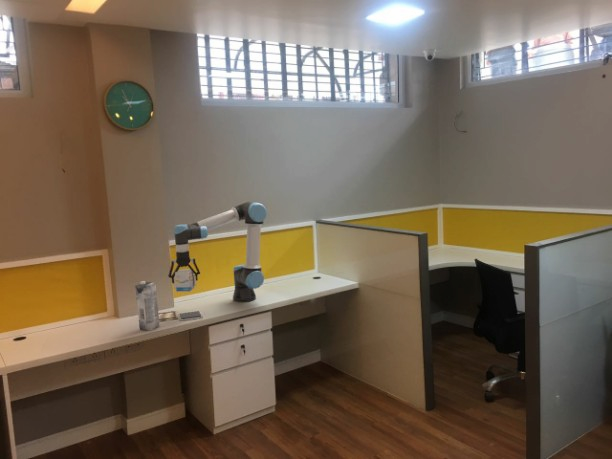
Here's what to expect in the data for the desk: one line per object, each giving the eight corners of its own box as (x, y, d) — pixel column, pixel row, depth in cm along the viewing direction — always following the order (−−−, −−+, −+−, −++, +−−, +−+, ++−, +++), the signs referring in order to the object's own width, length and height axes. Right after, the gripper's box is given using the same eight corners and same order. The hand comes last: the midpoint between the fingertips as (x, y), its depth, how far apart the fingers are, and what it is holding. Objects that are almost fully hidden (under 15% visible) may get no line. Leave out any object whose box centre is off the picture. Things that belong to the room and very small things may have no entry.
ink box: (189, 291, 313) (188, 272, 311) (176, 291, 314) (174, 272, 313) (195, 287, 321) (193, 268, 320) (181, 288, 323) (180, 269, 321)
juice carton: (162, 325, 305) (157, 279, 301) (149, 331, 296) (145, 284, 292) (149, 324, 309) (145, 278, 305) (137, 330, 299) (132, 283, 296)
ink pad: (200, 312, 328) (199, 310, 328) (202, 317, 316) (202, 315, 316) (178, 315, 324) (178, 313, 323) (180, 321, 312) (180, 318, 312)
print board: (176, 312, 331) (176, 310, 330) (178, 319, 316) (178, 317, 316) (149, 316, 326) (149, 314, 325) (150, 323, 311) (150, 320, 311)
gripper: (201, 248, 322) (204, 283, 325) (161, 252, 314) (164, 288, 317) (203, 249, 315) (206, 286, 318) (162, 254, 307) (165, 291, 310)
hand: (185, 287), depth 317 cm, fingers closed on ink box, 11 cm apart
